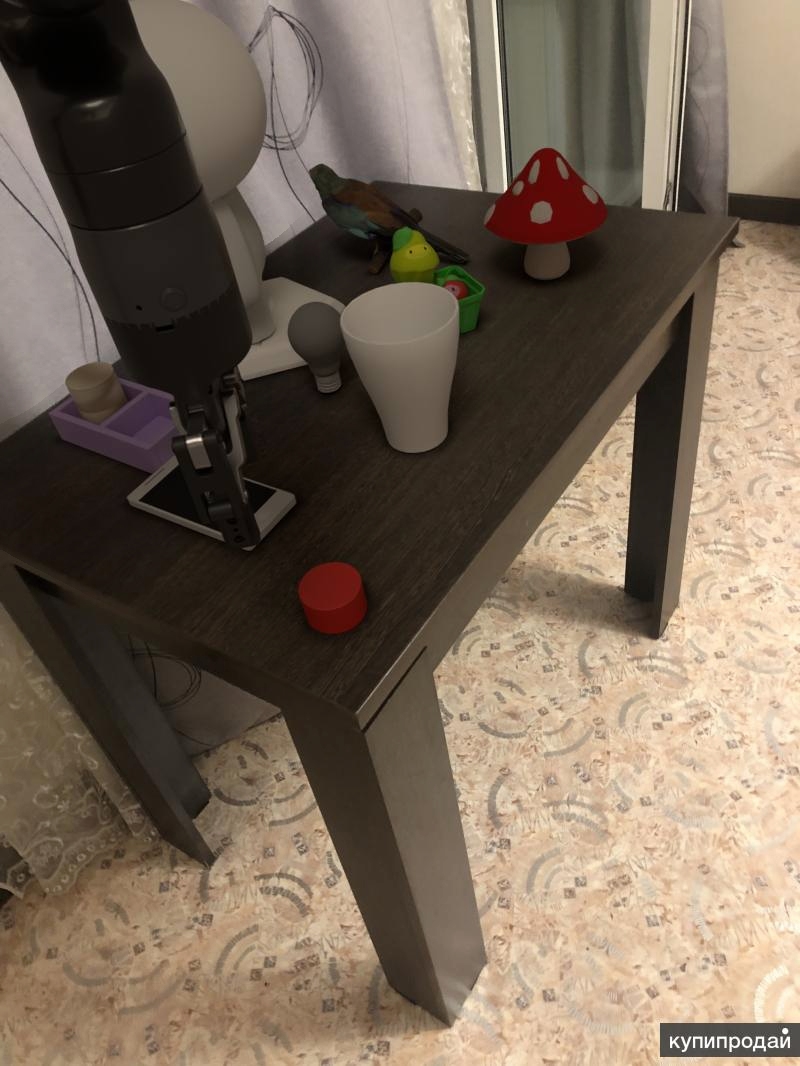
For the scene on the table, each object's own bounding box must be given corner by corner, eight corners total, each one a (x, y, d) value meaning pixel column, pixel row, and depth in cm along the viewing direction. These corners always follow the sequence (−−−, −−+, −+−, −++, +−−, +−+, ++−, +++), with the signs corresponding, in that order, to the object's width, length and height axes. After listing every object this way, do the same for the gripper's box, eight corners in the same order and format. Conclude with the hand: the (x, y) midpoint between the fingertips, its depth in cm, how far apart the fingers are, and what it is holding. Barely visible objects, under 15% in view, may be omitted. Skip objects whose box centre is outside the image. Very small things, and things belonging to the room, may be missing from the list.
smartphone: (250, 552, 71) (247, 544, 71) (128, 504, 78) (124, 497, 78) (298, 501, 75) (296, 493, 75) (177, 460, 82) (174, 453, 82)
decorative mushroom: (478, 304, 96) (469, 176, 86) (496, 249, 106) (490, 127, 95) (600, 304, 93) (606, 170, 82) (608, 247, 102) (614, 121, 92)
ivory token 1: (98, 418, 83) (86, 393, 81) (67, 407, 86) (54, 383, 83) (133, 391, 86) (123, 367, 84) (102, 381, 88) (91, 357, 86)
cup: (457, 393, 84) (445, 272, 75) (482, 455, 77) (471, 328, 67) (358, 415, 84) (333, 295, 74) (373, 478, 76) (347, 355, 67)
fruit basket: (399, 364, 90) (384, 268, 82) (369, 330, 96) (352, 237, 88) (490, 331, 92) (484, 235, 84) (455, 299, 98) (446, 207, 90)
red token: (343, 643, 63) (336, 618, 61) (293, 620, 65) (285, 596, 63) (379, 599, 66) (373, 573, 63) (330, 578, 68) (323, 554, 66)
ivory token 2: (109, 441, 85) (98, 418, 83) (78, 429, 88) (67, 407, 86) (143, 414, 88) (133, 391, 86) (112, 404, 90) (102, 381, 88)
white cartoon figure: (158, 318, 105) (37, 2, 80) (330, 275, 107) (264, -45, 82) (164, 401, 90) (20, 49, 66) (363, 350, 92) (294, -10, 68)
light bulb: (320, 369, 91) (301, 287, 84) (367, 377, 89) (351, 293, 82) (292, 400, 87) (270, 317, 80) (340, 409, 85) (321, 324, 78)
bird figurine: (483, 237, 107) (390, 100, 98) (461, 275, 101) (360, 132, 92) (409, 281, 116) (318, 159, 107) (384, 319, 109) (285, 192, 101)
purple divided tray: (159, 476, 81) (147, 449, 78) (61, 439, 88) (47, 413, 86) (213, 431, 85) (203, 403, 83) (115, 398, 92) (103, 372, 90)
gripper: (111, 240, 49) (194, 448, 61) (78, 365, 39) (186, 587, 50) (233, 216, 49) (293, 428, 61) (231, 334, 39) (305, 564, 50)
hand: (244, 500), depth 56 cm, fingers open, 8 cm apart
